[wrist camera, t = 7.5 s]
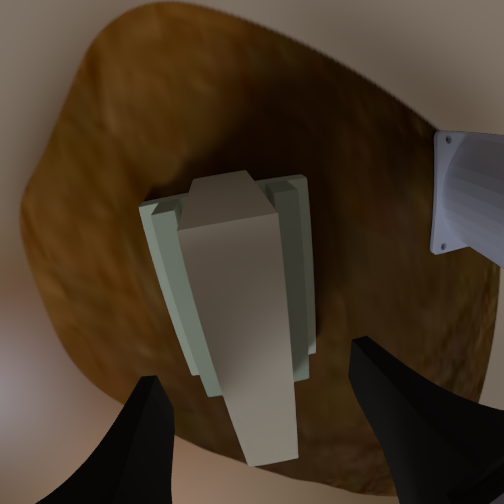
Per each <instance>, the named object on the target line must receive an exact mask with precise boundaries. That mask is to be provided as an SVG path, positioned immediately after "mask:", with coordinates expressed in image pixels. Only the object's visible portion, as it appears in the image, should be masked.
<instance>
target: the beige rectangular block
mask: <svg viewBox="0 0 504 504" xmlns="http://www.w3.org/2000/svg"><path fill="white" fill-rule="evenodd" d="M176 232H177V236H178V240H179V244H180V248H181V252H182V256H183V260H184V264H185V268H186V272H187V276H188V280H189V284H190V287H191V291H192V295H193V298H194V302H195V306H196V309H197V313H198V316H199V320H200V323H201V327H202V330H203V333H204V337H205V340H206V343H207V347H208V350H209V353H210V357H211V360H212V363H213V366H214V369H215V372H216V375H217V379H218V382H219V385H220V388H221V391H222V394H223V397H224V400H225V403H226V405H227V408H228V411H229V414H230V417H231V420H232V423H233V425H234V428H235V431H236V434H237V436H238V439H239V442H240V444H241V447H242V450H243V452H244V455H245V458H246V460H247V463H248V465H249V467H252V466H259V465H265V464H270V463H276V462H281V461H286V460H290V459H295V458H298V445H297V427H296V411H295V396H294V381H293V368H292V355H291V342H290V330H289V318H288V307H287V296H286V286H285V275H284V265H283V256H282V246H281V237H280V227H279V218H278V213H277V211H276V210H275V208H274V207H273V206H272V204H271V203H270V202H269V200H268V199H267V198H266V196H265V195H264V194H263V192H262V191H261V190H260V188H259V187H258V186H257V184H256V183H255V182H254V180H253V179H252V178H251V176H250V175H249V174H248V172H247V171H246V170H243V171H237V172H231V173H225V174H219V175H213V176H208V177H202V178H197V179H193V181H192V184H191V187H190V190H189V193H188V196H187V199H186V202H185V205H184V208H183V211H182V215H181V218H180V221H179V224H178V227H177V231H176Z"/></svg>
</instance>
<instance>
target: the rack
mask: <svg viewBox="0 0 504 504" xmlns="http://www.w3.org/2000/svg"><path fill="white" fill-rule="evenodd" d="M254 182H255V183H256V184H257V186H258V187H259V188H260V190H261V191H262V192H263V194H264V195H265V196H266V198H267V199H268V200H269V202H270V203H271V204H272V206H273V207H274V208H275V210H276V211H277V213H278V218H279V227H280V237H281V246H282V256H283V265H284V275H285V286H286V296H287V307H288V318H289V330H290V342H291V355H292V368H293V381H294V382H295V381H299V380H304V379H308V378H309V355H308V354H312V353H316V329H315V294H314V271H313V252H312V236H311V222H310V208H309V196H308V185H307V178H306V177H305V176H303V175H301V174H300V175H292V176H285V177H278V178H271V179H264V180H258V181H254ZM187 196H188V193H184V194H179V195H174V196H169V197H164V198H159V199H155V200H150V201H145V202H143V203H142V204H141V205H140V206H139V211H140V215H141V219H142V223H143V227H144V230H145V234H146V238H147V242H148V245H149V249H150V252H151V256H152V259H153V263H154V266H155V269H156V273H157V276H158V279H159V283H160V286H161V289H162V292H163V295H164V298H165V301H166V304H167V307H168V310H169V313H170V316H171V319H172V322H173V325H174V328H175V331H176V334H177V336H178V339H179V342H180V345H181V347H182V350H183V353H184V355H185V358H186V361H187V363H188V366H189V369H190V371H191V374H192V375H199V374H200V377H201V380H202V382H203V385H204V387H205V390H206V393H207V395H208V397H211V396H218V395H223V394H222V391H221V388H220V385H219V382H218V379H217V375H216V372H215V369H214V366H213V363H212V360H211V357H210V353H209V350H208V347H207V343H206V340H205V337H204V333H203V330H202V327H201V323H200V320H199V316H198V313H197V309H196V306H195V302H194V298H193V295H192V291H191V287H190V284H189V280H188V276H187V272H186V268H185V264H184V260H183V256H182V252H181V248H180V244H179V240H178V236H177V232H176V231H177V227H178V224H179V221H180V218H181V215H182V211H183V208H184V205H185V202H186V199H187Z"/></svg>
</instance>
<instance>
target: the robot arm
mask: <svg viewBox="0 0 504 504" xmlns="http://www.w3.org/2000/svg"><path fill="white" fill-rule="evenodd" d="M446 137H447V138H448V140H447V142H446ZM442 244H443V245H442ZM441 245H442V247H441ZM467 246H470V247H471V248H473V249H475V250H476V251H478V252H479V253H481V254H482V255H484V256H485V257H487V258H489V259H490V260H492V261H493V262H495V263H496V264H497V265H499V266H500V267H502V268H503V269H504V135H496V134H487V133H475V132H460V131H437V132H436V133H435V135H434V203H433V219H432V232H431V242H430V250H431V252H432V253H434V254H441V253H445V252H448V251H452V250H456V249H460V248H464V247H467ZM348 377H349V379H350V382H351V385H352V388H353V391H354V393H355V396H356V398H357V400H358V402H359V404H360V406H361V408H362V410H363V412H364V414H365V416H366V418H367V420H368V421H369V423H370V425H371V427H372V429H373V431H374V433H375V435H376V437H377V439H378V441H379V443H380V445H381V447H382V449H383V452H384V455H385V458H386V460H387V463H388V466H389V469H390V472H391V475H392V478H393V481H394V484H395V488H396V491H397V495H398V499H399V503H400V504H504V410H499V409H495V408H491V407H488V406H485V405H481V404H478V403H476V402H473V401H470V400H468V399H465V398H463V397H460V396H458V395H456V394H453V393H451V392H449V391H447V390H445V389H443V388H441V387H439V386H438V385H436V384H434V383H432V382H431V381H429V380H427V379H426V378H424V377H423V376H421V375H419V374H418V373H416V372H415V371H413V370H412V369H410V368H409V367H408V366H406V365H405V364H403V363H402V362H401V361H399V360H398V359H397V358H395V357H394V356H393V355H391V354H390V353H389V352H387V351H386V350H385V349H383V348H382V347H381V346H380V345H378V344H377V343H376V342H374V341H373V340H372V339H371V338H369V337H368V336H364V337H360V338H357V339H353V340H352V344H351V355H350V365H349V374H348ZM174 434H175V428H174V408H173V406H172V404H171V402H170V401H169V399H168V397H167V395H166V393H165V391H164V389H163V387H162V385H161V383H160V381H159V379H158V377H157V375H155V376H143V377H141V378H140V380H139V381H138V383H137V385H136V386H135V388H134V390H133V392H132V393H131V395H130V397H129V398H128V400H127V402H126V404H125V405H124V407H123V409H122V410H121V412H120V413H119V415H118V417H117V418H116V420H115V422H114V423H113V425H112V426H111V428H110V429H109V431H108V432H107V434H106V435H105V437H104V438H103V439H102V441H101V442H100V444H99V445H98V446H97V448H96V449H95V450H94V451H93V453H92V454H91V455H90V456H89V457H88V459H87V460H86V461H85V462H84V463H83V464H82V465H81V466H80V467H79V469H77V470H76V471H75V472H74V473H73V474H72V476H70V478H68V479H67V480H66V481H65V482H64V483H63V484H61V485H60V486H59V487H58V488H57V489H55V490H54V491H53V492H52V493H50V494H49V495H48V496H46V497H45V498H43V499H42V500H40V501H39V502H37V503H36V504H172V495H171V473H172V460H173V447H174Z"/></svg>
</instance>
